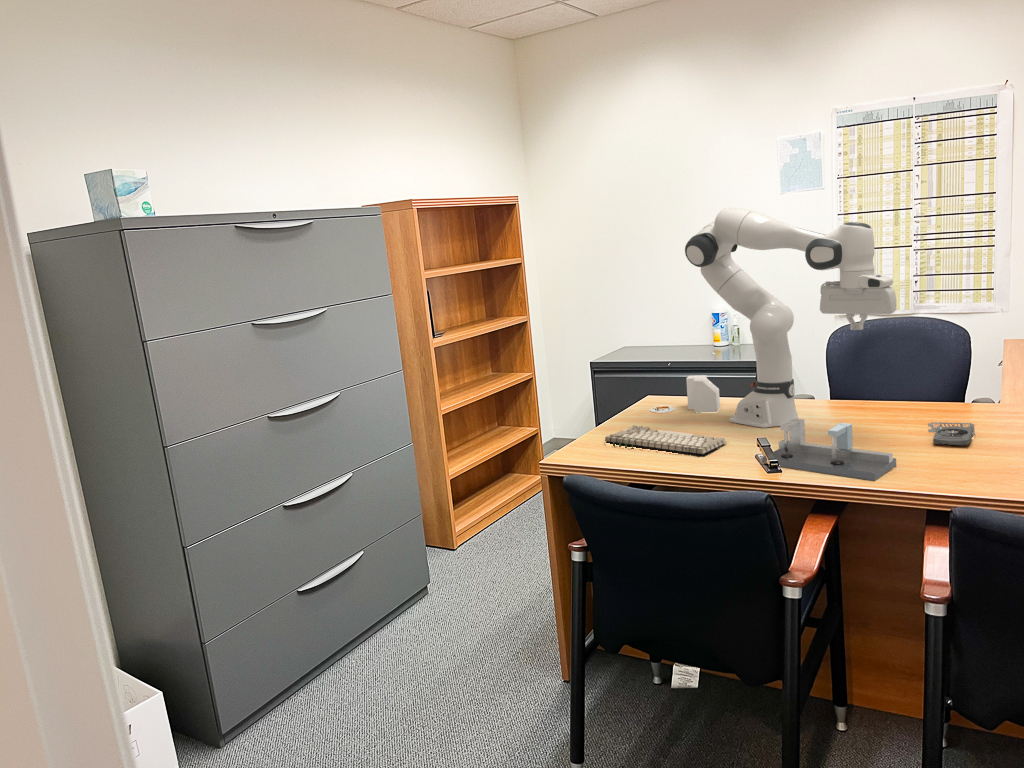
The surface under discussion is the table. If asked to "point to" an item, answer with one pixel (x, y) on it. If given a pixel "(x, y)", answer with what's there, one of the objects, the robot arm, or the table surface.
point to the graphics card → (952, 433)
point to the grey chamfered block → (702, 394)
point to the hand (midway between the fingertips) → (856, 329)
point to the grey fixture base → (829, 456)
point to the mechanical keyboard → (666, 441)
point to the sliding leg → (841, 437)
